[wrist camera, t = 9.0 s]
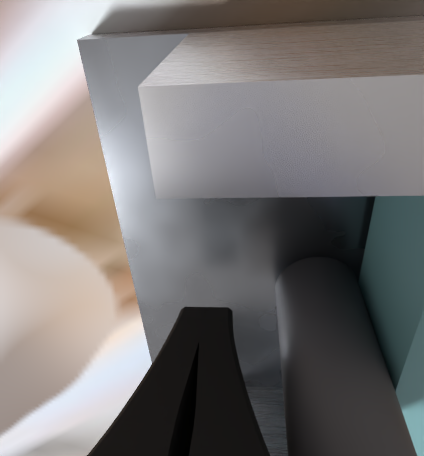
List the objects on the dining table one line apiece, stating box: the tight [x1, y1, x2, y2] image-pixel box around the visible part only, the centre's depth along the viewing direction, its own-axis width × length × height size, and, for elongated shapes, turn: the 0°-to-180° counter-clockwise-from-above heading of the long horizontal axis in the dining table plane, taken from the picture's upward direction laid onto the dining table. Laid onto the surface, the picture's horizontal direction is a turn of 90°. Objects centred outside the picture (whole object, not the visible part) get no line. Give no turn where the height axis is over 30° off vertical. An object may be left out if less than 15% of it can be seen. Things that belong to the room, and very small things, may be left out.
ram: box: [275, 196, 424, 456], centre depth 9 cm, size 10×4×6 cm, turn 4°
